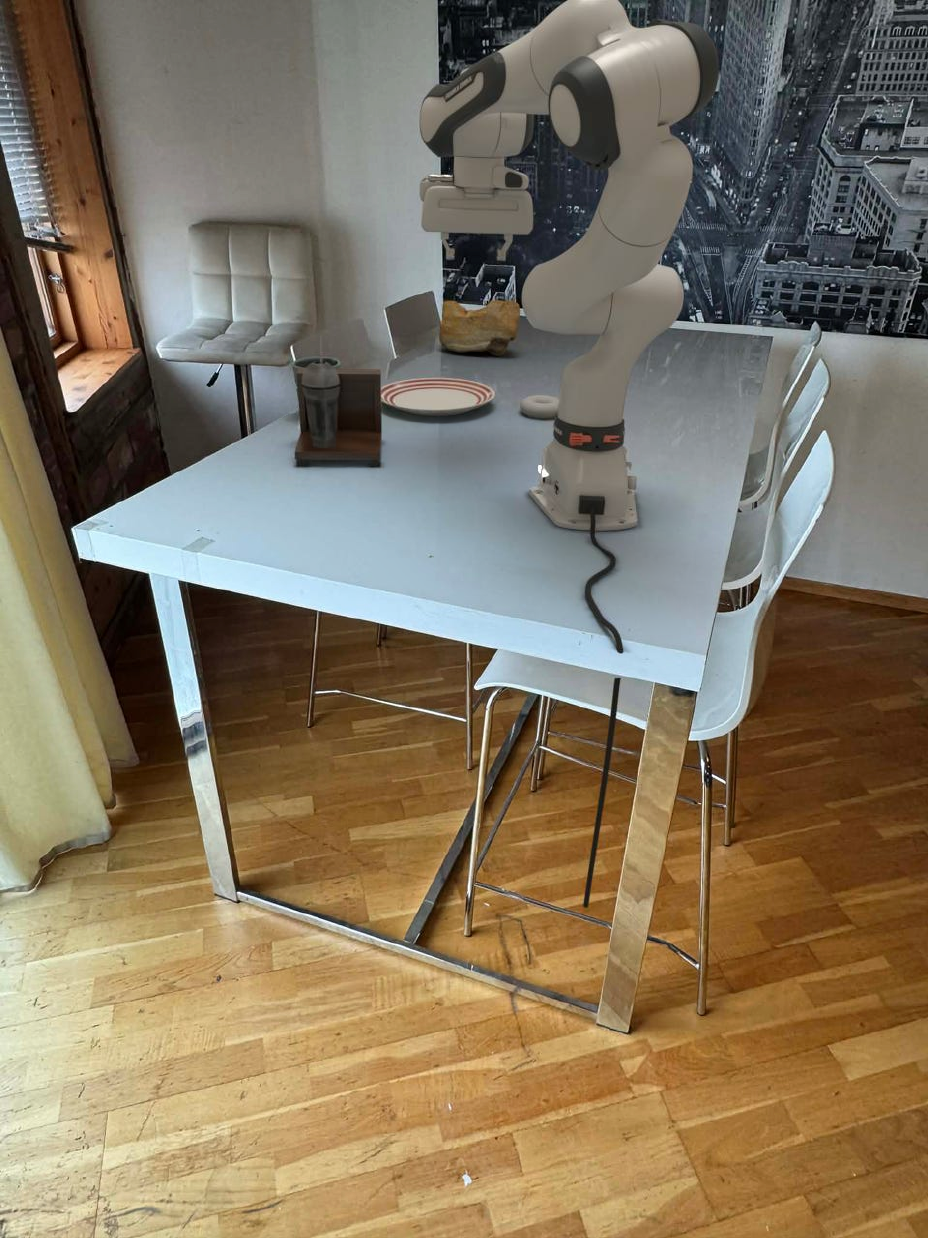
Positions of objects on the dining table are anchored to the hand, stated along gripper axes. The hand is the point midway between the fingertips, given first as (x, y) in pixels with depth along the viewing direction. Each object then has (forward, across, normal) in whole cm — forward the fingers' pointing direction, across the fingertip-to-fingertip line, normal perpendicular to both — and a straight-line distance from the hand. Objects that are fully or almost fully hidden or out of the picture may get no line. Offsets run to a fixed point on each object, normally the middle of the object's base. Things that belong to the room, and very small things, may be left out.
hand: (475, 259), depth 156 cm
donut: (+35, +18, +21) cm, 45 cm away
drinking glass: (+35, -32, +17) cm, 51 cm away
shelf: (+35, -26, -7) cm, 44 cm away
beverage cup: (+32, -29, -10) cm, 44 cm away
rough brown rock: (+35, +10, +82) cm, 90 cm away
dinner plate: (+35, -6, +27) cm, 45 cm away
